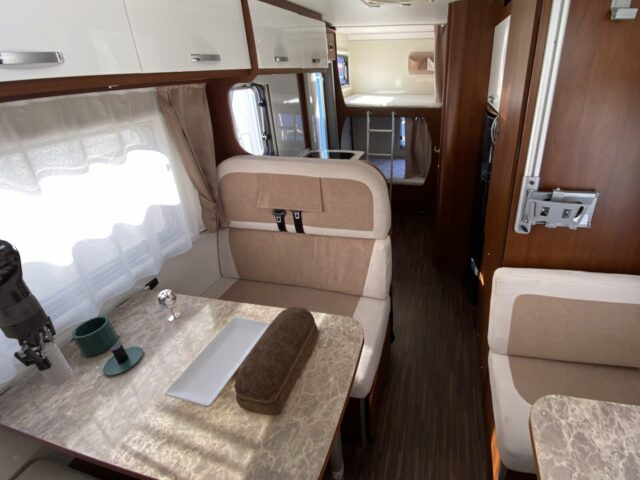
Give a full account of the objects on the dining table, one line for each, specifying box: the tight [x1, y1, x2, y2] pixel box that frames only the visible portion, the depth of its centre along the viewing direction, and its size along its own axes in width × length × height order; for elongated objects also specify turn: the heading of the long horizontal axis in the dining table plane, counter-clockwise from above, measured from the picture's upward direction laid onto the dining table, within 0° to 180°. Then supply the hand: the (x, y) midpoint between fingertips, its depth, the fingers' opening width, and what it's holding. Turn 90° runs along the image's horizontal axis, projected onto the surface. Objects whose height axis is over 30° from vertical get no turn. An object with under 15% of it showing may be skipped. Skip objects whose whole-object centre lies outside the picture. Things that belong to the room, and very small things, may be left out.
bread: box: [233, 306, 319, 416], centre depth 98 cm, size 15×32×16 cm, turn 168°
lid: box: [102, 342, 144, 377], centre depth 104 cm, size 11×11×8 cm
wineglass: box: [157, 288, 181, 321], centre depth 122 cm, size 6×6×12 cm
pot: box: [70, 315, 119, 358], centre depth 110 cm, size 10×10×10 cm
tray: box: [164, 316, 271, 408], centre depth 103 cm, size 17×31×4 cm, turn 166°
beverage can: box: [34, 341, 74, 387], centre depth 84 cm, size 5×5×12 cm
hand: (50, 360), depth 83 cm, fingers closed on beverage can, 5 cm apart
